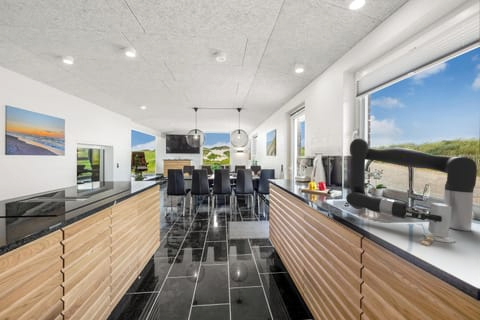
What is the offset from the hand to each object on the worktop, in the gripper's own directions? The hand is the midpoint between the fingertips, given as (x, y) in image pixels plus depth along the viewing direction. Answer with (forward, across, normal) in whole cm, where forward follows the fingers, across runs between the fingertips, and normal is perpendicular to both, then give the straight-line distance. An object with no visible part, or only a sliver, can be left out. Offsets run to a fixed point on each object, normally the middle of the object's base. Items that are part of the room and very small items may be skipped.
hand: (443, 217), depth 81 cm
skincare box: (-1, 0, +7) cm, 7 cm away
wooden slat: (-2, -10, +8) cm, 13 cm away
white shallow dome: (-1, 0, +8) cm, 9 cm away
